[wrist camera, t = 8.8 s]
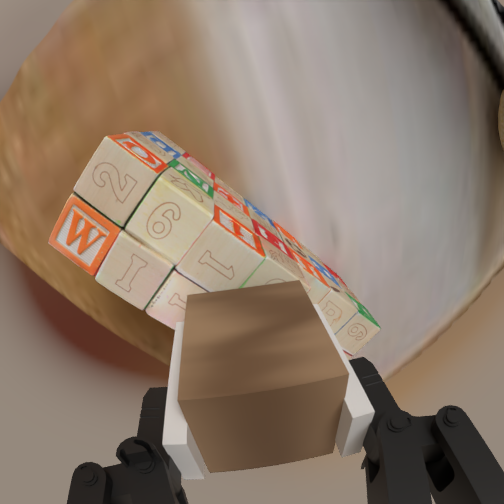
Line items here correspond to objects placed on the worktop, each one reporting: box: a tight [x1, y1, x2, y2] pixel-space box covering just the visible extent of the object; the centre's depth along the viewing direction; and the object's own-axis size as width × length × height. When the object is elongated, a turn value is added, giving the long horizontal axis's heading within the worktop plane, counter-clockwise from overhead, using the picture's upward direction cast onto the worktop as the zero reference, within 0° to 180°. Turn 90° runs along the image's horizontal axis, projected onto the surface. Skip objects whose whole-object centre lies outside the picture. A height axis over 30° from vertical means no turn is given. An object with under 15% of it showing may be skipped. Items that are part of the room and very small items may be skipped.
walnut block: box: [177, 280, 349, 473], centre depth 12 cm, size 5×5×6 cm
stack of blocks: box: [49, 131, 381, 360], centre depth 21 cm, size 21×6×12 cm, turn 50°
